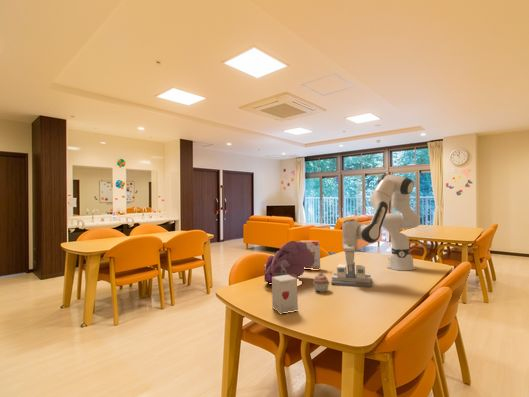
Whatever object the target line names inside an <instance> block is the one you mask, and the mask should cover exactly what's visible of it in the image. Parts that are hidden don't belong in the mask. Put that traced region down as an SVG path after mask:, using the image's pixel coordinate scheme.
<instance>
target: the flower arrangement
mask: <svg viewBox="0 0 529 397" xmlns="http://www.w3.org/2000/svg"><path fill="white" fill-rule="evenodd" d="M314 261H315V259H314V256H313V254H312V253H311V252H310V251H309V250H308V248H307V246H306V245H305V244H304V243H302V242H299V241H295V240H290V241H288V242H287V243H285V244H283V245H282V246H280V247H279V250H277V251H276V252H275V253H274V255H270V256H268V258H267V260H266V263H265V264H263V269H264V278H263V279H264V282H265V281H266V282H268V283H272V277H275V276H282V275H290V276H292V277H294V278H296V279H300V277H301V276H302V275H303V274H304V272H305V270H304V267H306V268H307V267H311V266H312V265H313V264H314ZM300 275H301V276H300ZM298 276H300V277H298Z"/></svg>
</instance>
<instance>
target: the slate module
mask: <svg viewBox="0 0 529 397" xmlns="http://www.w3.org/2000/svg"><path fill="white" fill-rule="evenodd" d="M346 270H347V274H348V278H355V274H356V263H355V261H354V263H353V265H352V271H349V265H347V264H346Z"/></svg>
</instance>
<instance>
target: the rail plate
mask: <svg viewBox="0 0 529 397" xmlns="http://www.w3.org/2000/svg"><path fill="white" fill-rule="evenodd" d="M371 277H372V276H371V274H366V265H365V264H355V278H348V269H347V264H343V263H342V264H337V266H336V273H335V272H333V275H332V277H331V282H330V284H334V285H333V286H345V287H360V288H372V279H371Z"/></svg>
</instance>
